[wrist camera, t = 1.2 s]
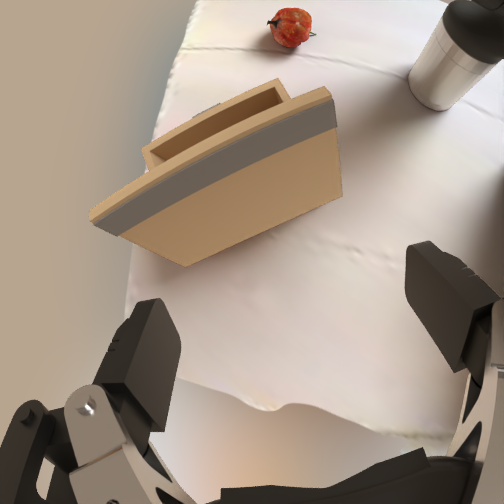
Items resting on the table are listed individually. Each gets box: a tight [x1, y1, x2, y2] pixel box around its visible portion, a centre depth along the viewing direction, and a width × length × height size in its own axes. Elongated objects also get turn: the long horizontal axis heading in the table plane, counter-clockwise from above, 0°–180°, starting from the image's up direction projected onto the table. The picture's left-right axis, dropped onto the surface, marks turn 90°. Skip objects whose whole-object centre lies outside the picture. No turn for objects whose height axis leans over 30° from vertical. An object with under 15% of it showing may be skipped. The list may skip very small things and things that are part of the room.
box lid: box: [89, 86, 342, 267], centre depth 27 cm, size 16×20×1 cm
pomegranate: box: [267, 8, 316, 47], centre depth 38 cm, size 7×7×10 cm
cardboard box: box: [141, 78, 291, 171], centre depth 39 cm, size 16×20×10 cm
